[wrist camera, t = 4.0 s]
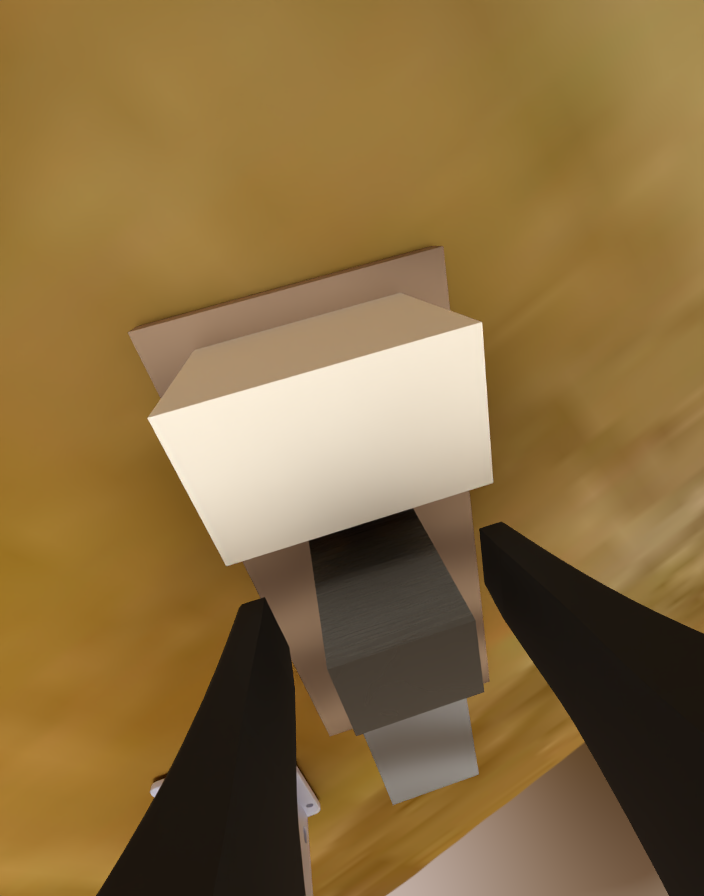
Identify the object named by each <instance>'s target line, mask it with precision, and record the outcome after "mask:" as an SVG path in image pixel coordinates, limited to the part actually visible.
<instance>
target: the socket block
mask: <svg viewBox="0 0 704 896" xmlns="http://www.w3.org/2000/svg"><path fill="white" fill-rule="evenodd" d="M148 420H149V422H150V424H151V425H152V427H153V429H154V431H155V433H156V435H157V437H158V439H159V440H160V442H161V444H162V446H163V448H164V450H165V452H166V454H167V455H168V457H169V459H170V461H171V463H172V465H173V467H174V469H175V471H176V472H177V474H178V476H179V478H180V480H181V482H182V484H183V486H184V487H185V489H186V491H187V493H188V495H189V497H190V499H191V501H192V502H193V504H194V506H195V508H196V510H197V512H198V514H199V516H200V518H201V519H202V521H203V523H204V525H205V527H206V529H207V531H208V533H209V534H210V536H211V538H212V540H213V542H214V544H215V546H216V548H217V549H218V551H219V553H220V555H221V557H222V559H223V561H224V563H225V565H226V566H229V565H232V564H235V563H239V562H242V561H245V560H248V559H251V558H255V557H258V556H261V555H264V554H267V553H271V552H274V551H277V550H280V549H283V548H287V547H290V546H293V545H296V544H299V543H303V542H306V541H309V540H312V539H315V538H319V537H322V536H325V535H328V534H331V533H335V532H338V531H341V530H344V529H347V528H351V527H354V526H357V525H360V524H363V523H367V522H370V521H373V520H376V519H379V518H383V517H386V516H389V515H392V514H395V513H399V512H402V511H405V510H408V509H411V508H415V507H418V506H421V505H424V504H427V503H431V502H434V501H437V500H440V499H443V498H446V497H450V496H453V495H456V494H459V493H462V492H466V491H469V490H472V489H475V488H478V487H482V486H485V485H488V484H491V483H493V473H492V459H491V444H490V430H489V416H488V401H487V387H486V373H485V358H484V344H483V330H482V322H480V321H478V320H475V319H472V318H469V317H467V316H464V315H461V314H458V313H455V312H453V311H450V310H447V309H444V308H441V307H439V306H436V305H433V304H430V303H427V302H425V301H422V300H419V299H416V298H414V297H411V296H408V295H405V294H402V293H397V294H394V295H390V296H386V297H383V298H379V299H376V300H372V301H368V302H365V303H361V304H358V305H354V306H351V307H347V308H343V309H340V310H336V311H333V312H329V313H325V314H322V315H318V316H315V317H311V318H307V319H304V320H300V321H297V322H293V323H290V324H286V325H282V326H279V327H275V328H272V329H268V330H264V331H261V332H257V333H254V334H250V335H246V336H243V337H239V338H236V339H232V340H229V341H225V342H221V343H218V344H214V345H211V346H207V347H203V348H200V349H196V350H194V351H193V352H192V354H191V355H190V357H189V358H188V360H187V361H186V363H185V364H184V365H183V367H182V368H181V370H180V371H179V373H178V374H177V376H176V377H175V379H174V380H173V382H172V383H171V384H170V386H169V387H168V389H167V390H166V392H165V393H164V395H163V396H162V398H161V399H160V401H159V402H158V403H157V405H156V406H155V408H154V409H153V411H152V412H151V414H150V415H149V417H148Z"/></svg>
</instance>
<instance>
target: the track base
mask: <svg viewBox="0 0 704 896" xmlns="http://www.w3.org/2000/svg"><path fill="white" fill-rule="evenodd" d="M397 293H402V294H405V295H408V296H411V297H414V298H416V299H419V300H422V301H425V302H427V303H430V304H433V305H436V306H439V307H441V308H444V309H447V310H450V305H449V296H448V286H447V277H446V268H445V258H444V249H443V246H430V247H426V248H423V249H419V250H415V251H412V252H408V253H404V254H401V255H397V256H394V257H390V258H386V259H383V260H379V261H375V262H372V263H368V264H364V265H361V266H357V267H353V268H350V269H346V270H342V271H339V272H335V273H331V274H328V275H324V276H320V277H317V278H313V279H309V280H306V281H302V282H298V283H295V284H291V285H287V286H284V287H280V288H276V289H273V290H269V291H265V292H262V293H258V294H254V295H251V296H247V297H243V298H240V299H236V300H232V301H229V302H225V303H221V304H218V305H214V306H210V307H207V308H203V309H199V310H196V311H192V312H188V313H185V314H181V315H177V316H174V317H170V318H166V319H163V320H159V321H155V322H152V323H148V324H144V325H141V326H137V327H135V328H134V329H132V330H131V331H129V332H128V334H129V336H130V338H131V340H132V342H133V344H134V346H135V348H136V350H137V352H138V354H139V356H140V358H141V360H142V362H143V364H144V366H145V368H146V370H147V372H148V374H149V376H150V378H151V380H152V382H153V384H154V386H155V388H156V390H157V392H158V394H159V396H160V398H162V396H163V395H164V393H165V392H166V390H167V389H168V387H169V386H170V384H171V383H172V382H173V380H174V379H175V377H176V376H177V374H178V373H179V371H180V370H181V368H182V367H183V365H184V364H185V363H186V361H187V360H188V358H189V357H190V355H191V354H192V352H193V351H194V350H196V349H200V348H203V347H207V346H211V345H214V344H218V343H221V342H225V341H229V340H232V339H236V338H239V337H243V336H246V335H250V334H254V333H257V332H261V331H264V330H268V329H272V328H275V327H279V326H282V325H286V324H290V323H293V322H297V321H300V320H304V319H307V318H311V317H315V316H318V315H322V314H325V313H329V312H333V311H336V310H340V309H343V308H347V307H351V306H354V305H358V304H361V303H365V302H368V301H372V300H376V299H379V298H383V297H386V296H390V295H394V294H397ZM413 509H414V511H415V512H416V514H417V516H418V518H419V520H420V521H421V523H422V525H423V527H424V529H425V530H426V532H427V534H428V536H429V538H430V539H431V541H432V543H433V545H434V547H435V548H436V550H437V552H438V554H439V555H440V557H441V559H442V561H443V563H444V564H445V566H446V568H447V570H448V572H449V573H450V575H451V577H452V579H453V581H454V582H455V584H456V586H457V588H458V590H459V591H460V593H461V595H462V597H463V599H464V600H465V602H466V604H467V606H468V608H469V609H470V611H471V613H472V615H473V616H474V618H475V620H476V628H477V636H478V644H479V653H480V661H481V669H482V678H483V684H484V683H487V682H489V671H488V662H487V653H486V643H485V634H484V624H483V615H482V606H481V596H480V587H479V578H478V568H477V559H476V549H475V540H474V531H473V521H472V512H471V502H470V493H469V491H466V492H462V493H459V494H456V495H453V496H450V497H446V498H443V499H440V500H437V501H434V502H431V503H427V504H424V505H421V506H418V507H415V508H413ZM242 562H243V564H244V566H245V568H246V570H247V572H248V574H249V576H250V578H251V580H252V582H253V584H254V586H255V588H256V590H257V592H258V594H259V596H260V598H264V597H265V598H266V600H267V602H268V604H269V606H270V608H271V611H272V613H273V615H274V617H275V619H276V621H277V623H278V625H279V627H280V629H281V631H282V633H283V635H284V637H285V639H286V641H287V643H288V645H289V647H290V655H291V660H292V662H293V664H294V666H295V668H296V670H297V672H298V674H299V676H300V678H301V680H302V681H303V683H304V685H305V687H306V689H307V691H308V693H309V695H310V697H311V699H312V701H313V703H314V705H315V707H316V709H317V711H318V713H319V715H320V717H321V719H322V721H323V723H324V725H325V727H326V729H327V731H328V733H329V735H330V736H332V735H335V734H338V733H341V732H344V731H347V730H350V729H353V727H352V725H351V723H350V721H349V718H348V716H347V714H346V711H345V709H344V707H343V705H342V702H341V700H340V698H339V696H338V693H337V691H336V689H335V686H334V684H333V682H332V680H331V677H330V675H329V673H328V670H327V665H326V658H325V651H324V644H323V637H322V630H321V623H320V616H319V609H318V602H317V595H316V588H315V581H314V574H313V567H312V560H311V553H310V546H309V541H306V542H303V543H299V544H296V545H293V546H290V547H287V548H283V549H280V550H277V551H274V552H271V553H267V554H264V555H261V556H258V557H255V558H251V559H248V560H245V561H242ZM364 736H365V739H366V741H367V744H368V746H369V748H370V751H371V753H372V756H373V758H374V760H375V763H376V765H377V768H378V770H379V772H380V775H381V777H382V779H383V782H384V784H385V787H386V789H387V791H388V794H389V796H390V799H391V801H392V803H393V805H394V804H397V803H400V802H403V801H406V800H408V799H411V798H414V797H417V796H420V795H422V794H425V793H428V792H431V791H434V790H436V789H439V788H442V787H445V786H448V785H450V784H453V783H456V782H459V781H461V780H464V779H467V778H470V777H473V776H475V775H478V774H479V773H478V767H477V761H476V754H475V748H474V742H473V736H472V729H471V723H470V717H469V711H468V705H467V698H465V699H462V700H459V701H456V702H454V703H451V704H448V705H445V706H442V707H439V708H436V709H433V710H430V711H427V712H425V713H422V714H419V715H416V716H413V717H410V718H407V719H404V720H401V721H398V722H396V723H393V724H390V725H387V726H384V727H381V728H378V729H375V730H372V731H369V732H367V733H364Z"/></svg>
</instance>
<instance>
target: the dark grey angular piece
mask: <svg viewBox="0 0 704 896" xmlns="http://www.w3.org/2000/svg"><path fill="white" fill-rule="evenodd" d="M309 546H310V553H311V560H312V567H313V574H314V581H315V588H316V595H317V602H318V609H319V616H320V623H321V630H322V637H323V644H324V651H325V658H326V665H327V670H328V673H329V675H330V677H331V680H332V682H333V684H334V686H335V689H336V691H337V693H338V696H339V698H340V700H341V702H342V705H343V707H344V709H345V711H346V714H347V716H348V718H349V721H350V723H351V725H352V727H353V730H354V732H355V734H356V736H358V735H361V734H364V733H367V732H369V731H372V730H375V729H378V728H381V727H384V726H387V725H390V724H393V723H396V722H398V721H401V720H404V719H407V718H410V717H413V716H416V715H419V714H422V713H425V712H427V711H430V710H433V709H436V708H439V707H442V706H445V705H448V704H451V703H454V702H456V701H459V700H462V699H465V698H468V697H471V696H474V695H477V694H480V693H483V692H484V686H483V678H482V669H481V661H480V653H479V644H478V636H477V628H476V620H475V618H474V616H473V615H472V613H471V611H470V609H469V608H468V606H467V604H466V602H465V600H464V599H463V597H462V595H461V593H460V591H459V590H458V588H457V586H456V584H455V582H454V581H453V579H452V577H451V575H450V573H449V572H448V570H447V568H446V566H445V564H444V563H443V561H442V559H441V557H440V555H439V554H438V552H437V550H436V548H435V547H434V545H433V543H432V541H431V539H430V538H429V536H428V534H427V532H426V530H425V529H424V527H423V525H422V523H421V521H420V520H419V518H418V516H417V514H416V512H415V511H414V509H413V508H411V509H408V510H405V511H402V512H399V513H395V514H392V515H389V516H386V517H383V518H379V519H376V520H373V521H370V522H367V523H363V524H360V525H357V526H354V527H351V528H347V529H344V530H341V531H338V532H335V533H331V534H328V535H325V536H322V537H319V538H315V539H312V540H309Z"/></svg>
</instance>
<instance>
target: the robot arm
mask: <svg viewBox="0 0 704 896" xmlns="http://www.w3.org/2000/svg"><path fill="white" fill-rule="evenodd" d="M479 531H480V541H481V551H482V562H483V572H484V582H485V585H486V587H487V589H488V591H489V592H490V594H491V596H492V598H493V600H494V602H495V604H496V606H497V607H498V609H499V611H500V613H501V615H502V617H503V618H504V620H505V621H506V623H507V624H508V626H509V627H510V629H511V630H512V632H513V633H514V635H515V636H516V638H517V639H518V641H519V642H520V644H521V645H522V647H523V648H524V649H525V651H526V652H527V654H528V655H529V657H530V658H531V660H532V661H533V663H534V664H535V665H536V667H537V668H538V670H539V671H540V673H541V674H542V676H543V677H544V679H545V680H546V681H547V683H548V684H549V686H550V687H551V689H552V690H553V692H554V693H555V694H556V696H557V697H558V699H559V700H560V702H561V703H562V705H563V706H564V708H565V710H566V711H567V713H568V714H569V716H570V717H571V719H572V720H573V722H574V724H575V725H576V727H577V729H578V731H579V732H580V734H581V736H582V738H583V739H584V741H585V743H586V744H587V746H588V748H589V750H590V752H591V753H592V755H593V757H594V759H595V760H596V762H597V764H598V765H599V767H600V769H601V771H602V773H603V774H604V776H605V778H606V780H607V782H608V783H609V785H610V787H611V789H612V790H613V792H614V794H615V796H616V798H617V799H618V801H619V803H620V805H621V807H622V809H623V810H624V812H625V814H626V816H627V817H628V819H629V821H630V823H631V825H632V827H633V829H634V831H635V832H636V834H637V836H638V838H639V840H640V842H641V844H642V845H643V847H644V849H645V851H646V853H647V855H648V856H649V858H650V860H651V862H652V864H653V866H654V868H655V869H656V871H657V873H658V875H659V877H660V879H661V881H662V883H663V885H664V887H665V889H666V891H667V893H668V895H669V896H704V634H703V633H701V632H699V631H696V630H694V629H692V628H689V627H687V626H685V625H683V624H681V623H679V622H677V621H674V620H672V619H670V618H668V617H666V616H664V615H662V614H659V613H657V612H655V611H653V610H651V609H649V608H647V607H645V606H643V605H641V604H639V603H637V602H635V601H633V600H631V599H629V598H628V597H626V596H624V595H622V594H620V593H618V592H616V591H615V590H613V589H611V588H609V587H607V586H605V585H603V584H602V583H600V582H598V581H596V580H595V579H593V578H591V577H589V576H588V575H586V574H584V573H583V572H581V571H579V570H578V569H576V568H574V567H572V566H571V565H569V564H567V563H566V562H564V561H562V560H561V559H559V558H558V557H556V556H554V555H553V554H551V553H549V552H548V551H546V550H545V549H543V548H542V547H540V546H538V545H537V544H535V543H534V542H532V541H531V540H529V539H528V538H526V537H525V536H523V535H522V534H520V533H518V532H517V531H515V530H514V529H512V528H511V527H509V526H508V525H506V524H505V523H503V522H499V523H496V524H492V525H489V526H486V527H483V528H480V529H479ZM150 793H151V795H152V796H153V797H154V799H153V801H152V803H151V805H150V807H149V808H148V810H147V812H146V814H145V815H144V817H143V819H142V821H141V822H140V824H139V826H138V827H137V829H136V831H135V833H134V834H133V836H132V838H131V839H130V841H129V843H128V845H127V846H126V848H125V850H124V852H123V853H122V855H121V856H120V858H119V860H118V861H117V863H116V865H115V866H114V868H113V870H112V871H111V873H110V875H109V876H108V878H107V879H106V881H105V883H104V884H103V886H102V887H101V889H100V890H99V892H98V893H97V895H96V896H313V889H312V875H311V861H310V847H309V833H308V819H307V817H309V816H312V815H314V814H317V813H318V812H319V811H320V810H321V809H320V802H319V801H318V799H317V798H316V796H315V794H314V793H313V791H312V790H311V788H310V786H309V785H308V783H307V782H306V780H305V778H304V777H303V775H302V774H301V772H300V770H299V769H298V767H297V766H296V717H295V686H294V678H293V670H292V662H291V655H290V647H289V645H288V643H287V641H286V639H285V637H284V635H283V633H282V631H281V629H280V627H279V625H278V623H277V621H276V619H275V617H274V615H273V613H272V611H271V608H270V606H269V604H268V602H267V600H266V598H265V597H264V598H261V599H258V600H254V601H251V602H248V603H245V604H242V605H241V606H240V608H239V610H238V612H237V615H236V618H235V621H234V624H233V626H232V629H231V632H230V634H229V637H228V640H227V642H226V645H225V648H224V650H223V653H222V655H221V658H220V660H219V663H218V665H217V668H216V670H215V673H214V675H213V677H212V680H211V682H210V685H209V687H208V689H207V692H206V694H205V696H204V699H203V701H202V703H201V705H200V708H199V710H198V712H197V714H196V716H195V718H194V720H193V723H192V725H191V727H190V729H189V731H188V733H187V735H186V738H185V740H184V742H183V744H182V746H181V748H180V750H179V752H178V754H177V756H176V758H175V760H174V762H173V764H172V766H171V768H170V770H169V772H168V773H167V775H166V777H165V778H164V779H161V780H158V781H156V782H154V783H153V784H152V786H151V791H150Z"/></svg>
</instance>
